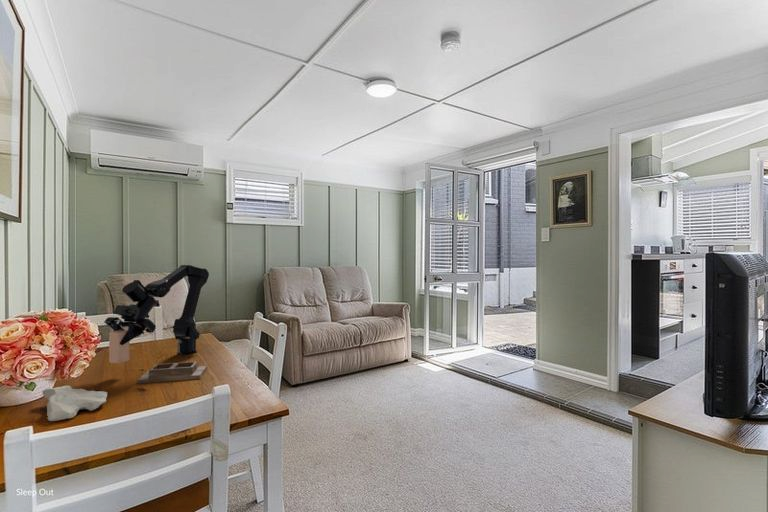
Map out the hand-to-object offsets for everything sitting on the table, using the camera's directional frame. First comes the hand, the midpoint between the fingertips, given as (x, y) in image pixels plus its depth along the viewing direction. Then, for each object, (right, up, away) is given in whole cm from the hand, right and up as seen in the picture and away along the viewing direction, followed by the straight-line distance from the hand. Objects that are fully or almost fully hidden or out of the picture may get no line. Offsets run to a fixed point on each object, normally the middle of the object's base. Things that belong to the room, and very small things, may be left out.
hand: (115, 344), depth 135 cm
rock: (+7, -13, -26) cm, 30 cm away
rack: (+20, -12, +2) cm, 24 cm away
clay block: (0, -7, +1) cm, 7 cm away
